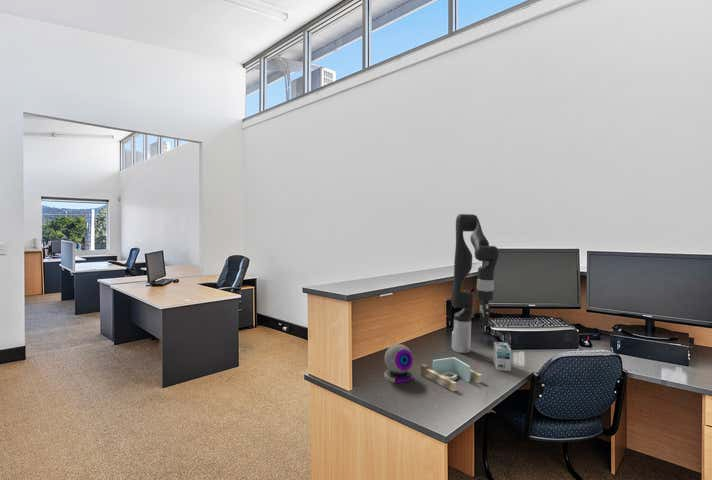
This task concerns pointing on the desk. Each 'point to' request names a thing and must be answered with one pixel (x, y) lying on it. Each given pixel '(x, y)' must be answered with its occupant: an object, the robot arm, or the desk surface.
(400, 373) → the webcam
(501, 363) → the light bulb box
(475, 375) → the rack
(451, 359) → the right angle wall
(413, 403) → the desk surface
